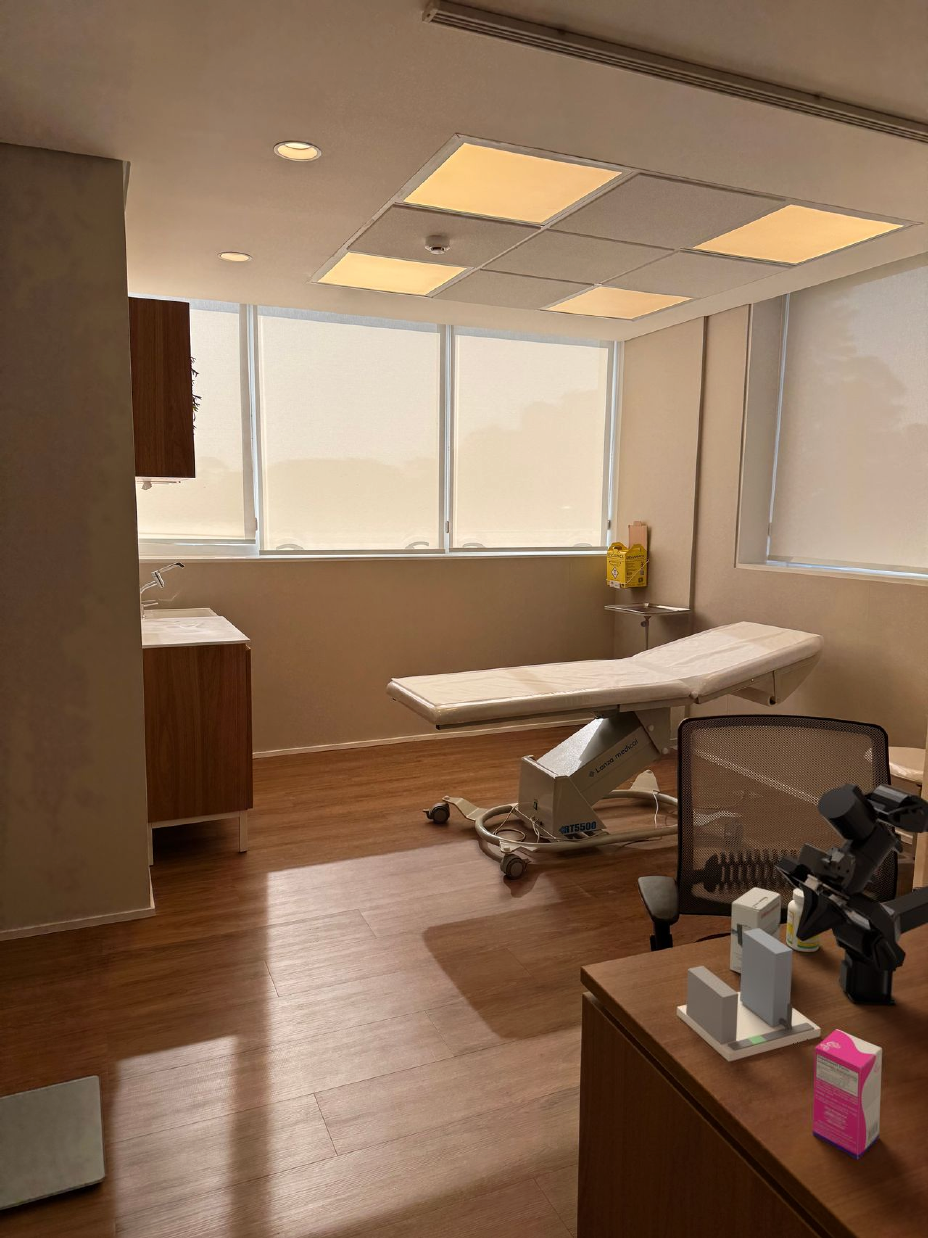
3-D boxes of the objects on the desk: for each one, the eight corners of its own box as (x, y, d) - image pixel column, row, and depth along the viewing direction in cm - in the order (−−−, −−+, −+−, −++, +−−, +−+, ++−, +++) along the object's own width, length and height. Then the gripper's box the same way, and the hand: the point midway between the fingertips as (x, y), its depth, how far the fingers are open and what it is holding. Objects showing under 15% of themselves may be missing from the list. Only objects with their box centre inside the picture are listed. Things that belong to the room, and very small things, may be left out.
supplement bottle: (780, 944, 150) (782, 891, 149) (796, 934, 154) (799, 883, 152) (809, 956, 146) (812, 902, 145) (825, 946, 149) (828, 893, 148)
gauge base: (762, 993, 135) (765, 943, 134) (820, 1036, 124) (823, 982, 123) (676, 1014, 129) (678, 962, 128) (728, 1061, 118) (731, 1005, 117)
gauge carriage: (756, 997, 131) (759, 928, 130) (798, 1029, 123) (802, 956, 121) (739, 1001, 130) (742, 931, 129) (781, 1034, 122) (785, 960, 120)
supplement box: (832, 1112, 108) (837, 1026, 107) (880, 1138, 104) (886, 1049, 102) (809, 1134, 104) (814, 1045, 103) (858, 1161, 100) (864, 1069, 98)
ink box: (752, 950, 148) (755, 884, 146) (780, 961, 145) (783, 893, 143) (727, 969, 142) (730, 901, 140) (756, 981, 138) (759, 910, 137)
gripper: (787, 806, 137) (728, 883, 134) (883, 848, 119) (817, 938, 117) (824, 846, 140) (767, 922, 138) (922, 893, 123) (859, 981, 121)
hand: (799, 939), depth 128 cm, fingers closed
